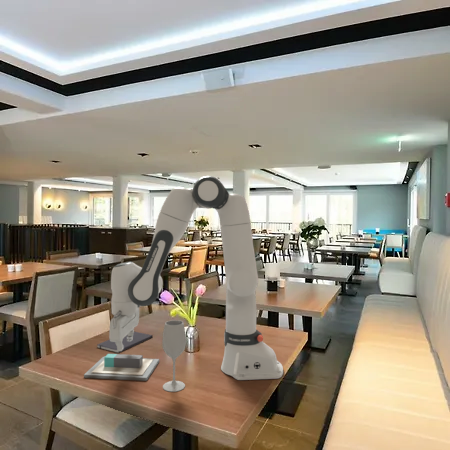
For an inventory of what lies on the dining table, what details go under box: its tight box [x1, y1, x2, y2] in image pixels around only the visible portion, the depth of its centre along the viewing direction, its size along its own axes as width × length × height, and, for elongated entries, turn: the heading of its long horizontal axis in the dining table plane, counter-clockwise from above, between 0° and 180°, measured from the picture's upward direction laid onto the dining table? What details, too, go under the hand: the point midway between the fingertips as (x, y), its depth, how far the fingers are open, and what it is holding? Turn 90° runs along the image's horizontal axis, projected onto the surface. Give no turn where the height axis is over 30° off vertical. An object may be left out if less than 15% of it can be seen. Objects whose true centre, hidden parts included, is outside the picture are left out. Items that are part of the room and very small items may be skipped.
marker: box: [104, 353, 144, 368], centre depth 132 cm, size 13×3×3 cm, turn 85°
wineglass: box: [161, 319, 187, 393], centre depth 119 cm, size 8×8×21 cm
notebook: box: [96, 331, 153, 354], centre depth 160 cm, size 13×2×21 cm
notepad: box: [83, 356, 160, 382], centre depth 132 cm, size 22×16×1 cm
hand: (125, 345), depth 132 cm, fingers open, 8 cm apart
